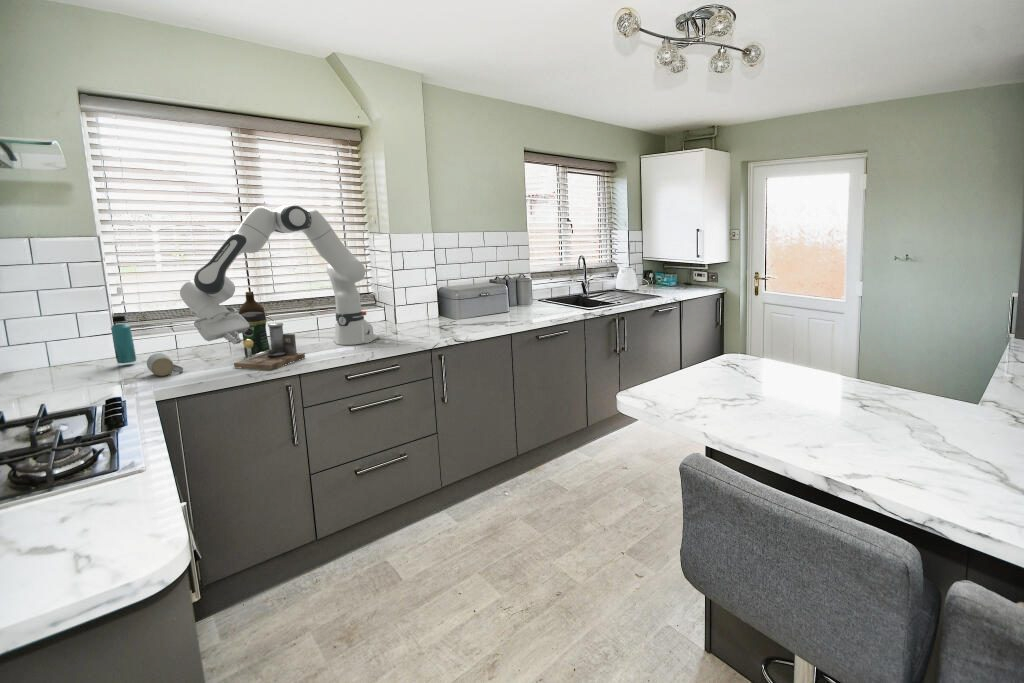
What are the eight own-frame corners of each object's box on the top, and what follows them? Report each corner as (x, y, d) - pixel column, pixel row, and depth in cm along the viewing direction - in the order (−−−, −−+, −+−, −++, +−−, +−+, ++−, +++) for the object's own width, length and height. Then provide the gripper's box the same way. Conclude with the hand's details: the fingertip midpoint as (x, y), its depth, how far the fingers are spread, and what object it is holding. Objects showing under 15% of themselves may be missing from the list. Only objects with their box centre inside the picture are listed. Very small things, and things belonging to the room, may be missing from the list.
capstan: (276, 352, 220) (273, 322, 217) (290, 353, 218) (287, 322, 215) (239, 364, 201) (235, 331, 198) (255, 365, 199) (251, 332, 197)
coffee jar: (273, 353, 228) (268, 310, 224) (260, 357, 221) (255, 313, 217) (254, 352, 231) (249, 310, 227) (241, 356, 223) (235, 313, 219)
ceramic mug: (152, 378, 191) (149, 358, 190) (148, 374, 197) (145, 354, 196) (186, 373, 199) (183, 353, 197) (180, 369, 204) (178, 350, 203)
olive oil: (246, 349, 236) (239, 293, 231) (240, 346, 244) (233, 292, 239) (271, 346, 243) (265, 291, 238) (264, 342, 251) (258, 290, 246)
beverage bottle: (141, 363, 214) (133, 314, 210) (124, 367, 208) (116, 317, 204) (129, 362, 216) (121, 314, 212) (113, 366, 210) (104, 316, 206)
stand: (270, 355, 224) (267, 332, 222) (305, 357, 219) (303, 334, 217) (234, 367, 205) (231, 342, 203) (271, 370, 200) (268, 344, 198)
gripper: (195, 315, 193) (220, 342, 193) (237, 307, 212) (261, 332, 212) (187, 327, 195) (212, 354, 195) (230, 317, 215) (253, 342, 214)
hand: (238, 342), depth 203 cm, fingers closed
